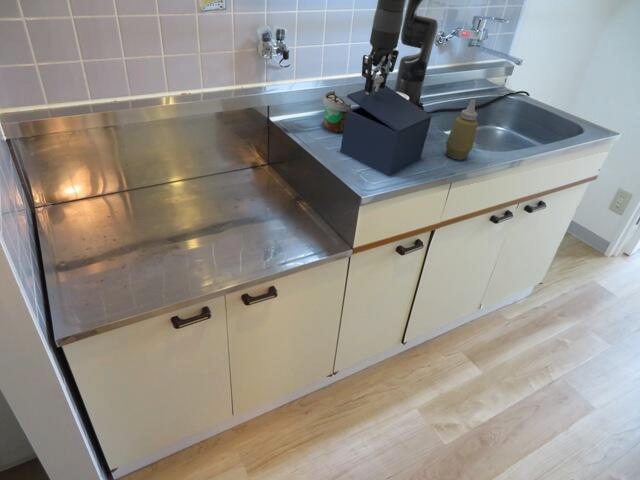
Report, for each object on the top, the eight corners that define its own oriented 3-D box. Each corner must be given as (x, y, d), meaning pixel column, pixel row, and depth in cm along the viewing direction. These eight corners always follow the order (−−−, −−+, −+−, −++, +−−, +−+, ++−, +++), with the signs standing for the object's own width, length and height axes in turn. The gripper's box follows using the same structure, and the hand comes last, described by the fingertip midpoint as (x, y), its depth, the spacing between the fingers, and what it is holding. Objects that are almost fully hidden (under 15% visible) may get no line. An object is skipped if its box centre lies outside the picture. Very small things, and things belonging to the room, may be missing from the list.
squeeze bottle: (459, 149, 152) (476, 94, 141) (473, 161, 146) (493, 105, 135) (438, 150, 149) (454, 95, 138) (452, 163, 143) (470, 106, 132)
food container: (314, 120, 157) (317, 91, 151) (330, 119, 159) (334, 90, 153) (329, 136, 148) (333, 106, 142) (347, 135, 151) (351, 105, 145)
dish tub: (340, 151, 141) (346, 110, 133) (373, 137, 152) (381, 98, 144) (388, 176, 132) (398, 133, 124) (420, 158, 143) (431, 118, 135)
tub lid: (346, 97, 131) (352, 79, 127) (381, 85, 142) (387, 69, 138) (398, 133, 124) (406, 115, 121) (431, 118, 135) (439, 101, 132)
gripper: (382, 34, 117) (369, 99, 128) (413, 28, 127) (399, 89, 137) (358, 26, 121) (348, 90, 131) (390, 20, 130) (378, 80, 140)
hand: (374, 89), depth 134 cm, fingers closed on tub lid, 5 cm apart
